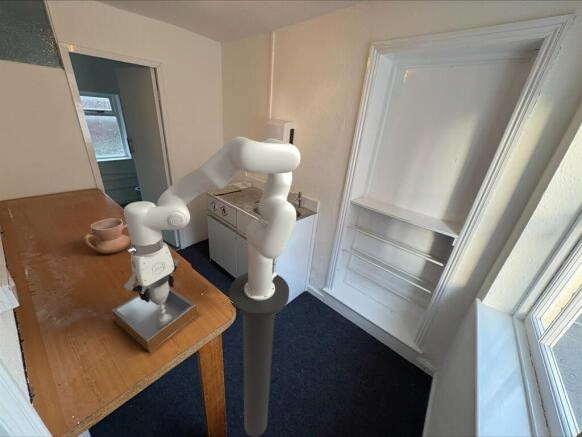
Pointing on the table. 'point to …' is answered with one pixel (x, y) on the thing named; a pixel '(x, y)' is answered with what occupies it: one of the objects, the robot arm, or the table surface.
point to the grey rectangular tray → (154, 318)
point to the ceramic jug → (108, 236)
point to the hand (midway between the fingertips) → (158, 292)
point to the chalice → (160, 298)
